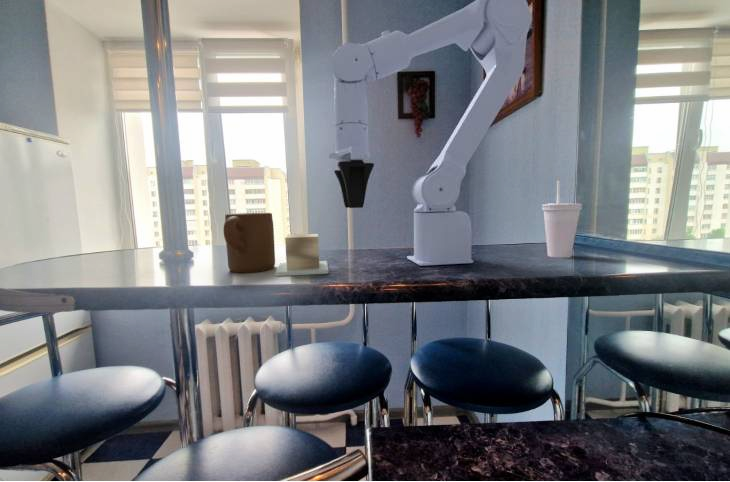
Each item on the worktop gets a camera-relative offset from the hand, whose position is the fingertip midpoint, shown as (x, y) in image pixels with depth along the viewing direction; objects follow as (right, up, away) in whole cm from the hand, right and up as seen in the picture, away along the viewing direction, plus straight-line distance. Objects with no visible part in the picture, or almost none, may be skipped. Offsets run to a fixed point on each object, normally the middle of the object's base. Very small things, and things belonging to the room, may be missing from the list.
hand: (353, 207), depth 56 cm
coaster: (-8, -11, -3) cm, 14 cm away
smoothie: (+38, -9, +4) cm, 39 cm away
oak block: (-8, -10, -3) cm, 13 cm away
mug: (-17, -11, -4) cm, 21 cm away
